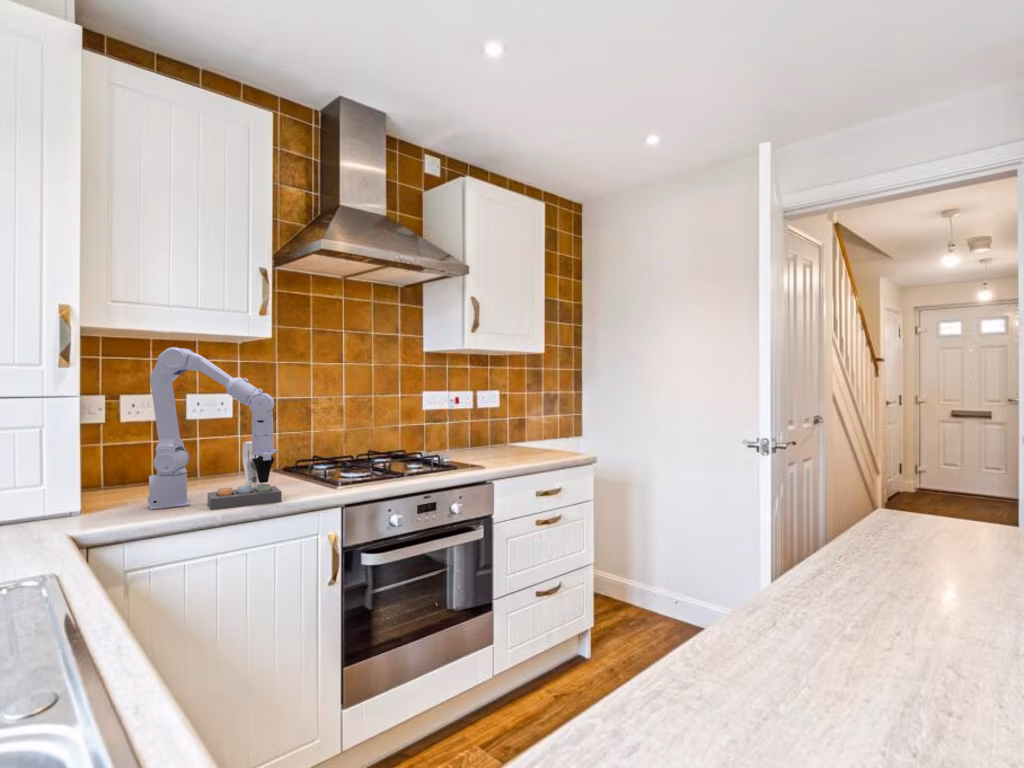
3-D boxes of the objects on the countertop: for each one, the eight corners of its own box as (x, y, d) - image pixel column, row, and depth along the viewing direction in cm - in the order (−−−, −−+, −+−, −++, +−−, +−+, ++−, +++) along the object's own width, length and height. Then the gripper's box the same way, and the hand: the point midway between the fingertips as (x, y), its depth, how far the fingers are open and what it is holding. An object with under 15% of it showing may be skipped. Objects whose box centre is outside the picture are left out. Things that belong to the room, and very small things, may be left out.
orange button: (218, 501, 161) (218, 490, 161) (217, 499, 164) (217, 488, 164) (233, 499, 163) (232, 489, 163) (231, 497, 166) (231, 487, 166)
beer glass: (238, 490, 184) (237, 442, 184) (256, 486, 190) (256, 440, 190) (252, 491, 181) (252, 443, 181) (271, 487, 187) (270, 441, 187)
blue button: (238, 499, 163) (238, 488, 163) (237, 496, 166) (236, 486, 166) (252, 497, 165) (252, 487, 165) (250, 495, 168) (250, 485, 168)
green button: (257, 497, 166) (257, 486, 166) (255, 494, 169) (255, 484, 169) (271, 495, 168) (271, 485, 168) (269, 493, 171) (269, 483, 171)
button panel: (210, 510, 157) (210, 499, 157) (207, 503, 165) (207, 492, 165) (281, 501, 166) (281, 491, 166) (275, 495, 175) (275, 485, 175)
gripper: (282, 436, 164) (283, 484, 164) (272, 432, 176) (273, 477, 177) (255, 438, 160) (256, 487, 161) (247, 433, 173) (248, 479, 173)
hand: (263, 482), depth 168 cm, fingers closed
